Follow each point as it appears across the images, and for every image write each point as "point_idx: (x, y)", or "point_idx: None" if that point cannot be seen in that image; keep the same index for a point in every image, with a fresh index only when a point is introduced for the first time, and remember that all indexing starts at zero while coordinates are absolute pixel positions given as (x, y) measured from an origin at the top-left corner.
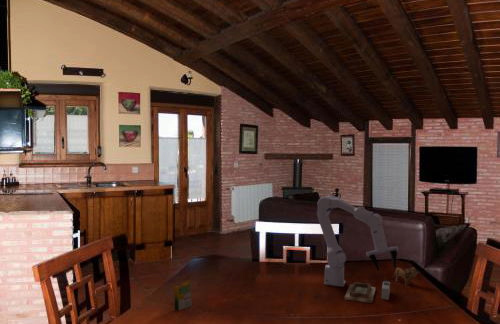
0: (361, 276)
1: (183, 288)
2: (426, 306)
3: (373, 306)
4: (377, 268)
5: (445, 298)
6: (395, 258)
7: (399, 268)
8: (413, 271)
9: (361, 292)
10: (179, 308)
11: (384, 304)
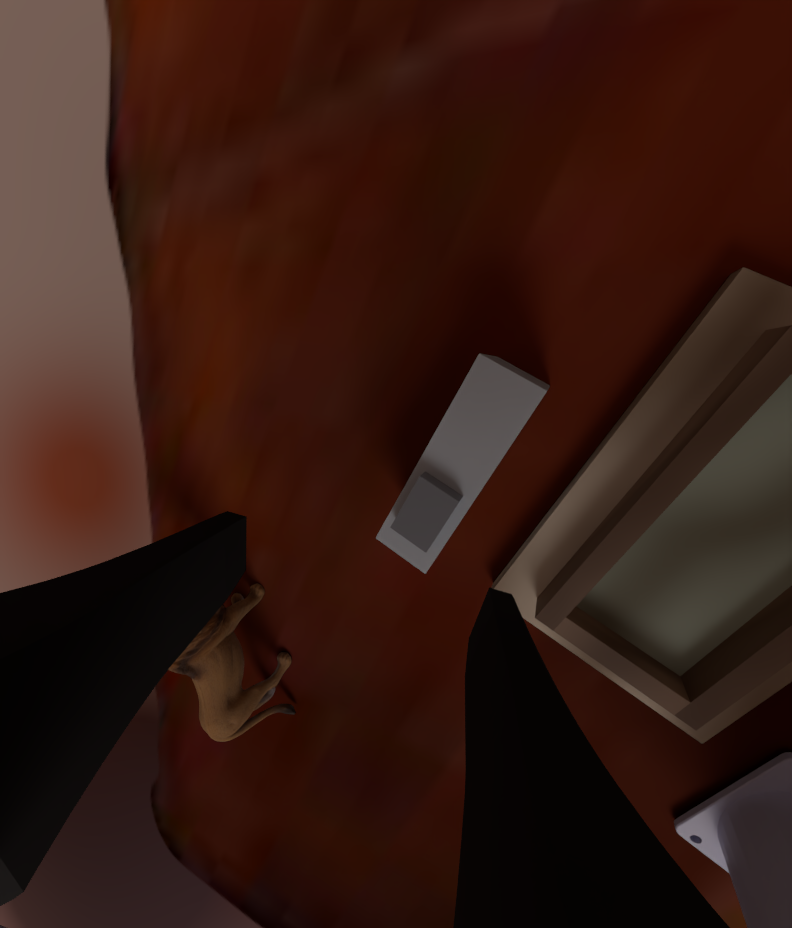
0: None
1: None
2: (280, 194)
3: (784, 163)
4: (518, 621)
5: (146, 342)
6: (46, 586)
7: (208, 719)
8: None
9: (733, 509)
10: None
11: (603, 234)
